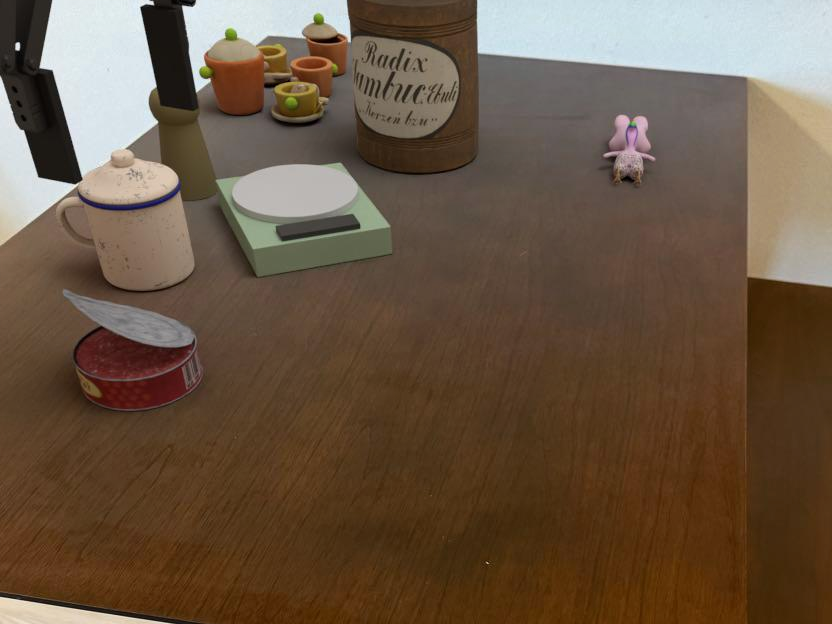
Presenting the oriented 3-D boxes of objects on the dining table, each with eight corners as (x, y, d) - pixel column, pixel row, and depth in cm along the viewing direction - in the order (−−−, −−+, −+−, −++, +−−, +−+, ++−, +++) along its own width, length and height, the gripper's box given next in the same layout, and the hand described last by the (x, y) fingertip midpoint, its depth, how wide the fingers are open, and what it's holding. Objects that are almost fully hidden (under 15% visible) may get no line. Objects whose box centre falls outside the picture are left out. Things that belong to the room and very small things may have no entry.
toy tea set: (318, 131, 122) (310, 50, 116) (199, 122, 123) (184, 40, 116) (364, 65, 141) (359, -8, 135) (260, 57, 142) (250, -16, 135)
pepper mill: (194, 173, 112) (175, 73, 104) (230, 187, 109) (213, 86, 102) (152, 190, 108) (128, 87, 101) (188, 205, 106) (167, 101, 98)
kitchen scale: (220, 206, 106) (213, 172, 103) (343, 188, 110) (340, 155, 108) (257, 277, 95) (251, 241, 92) (392, 254, 99) (390, 218, 97)
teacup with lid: (205, 249, 99) (182, 134, 91) (187, 294, 92) (161, 174, 84) (85, 248, 98) (52, 131, 90) (59, 293, 91) (19, 171, 83)
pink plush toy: (652, 198, 115) (654, 131, 124) (659, 152, 110) (660, 85, 119) (599, 194, 115) (605, 127, 124) (604, 148, 110) (610, 82, 119)
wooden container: (338, 163, 115) (319, -47, 100) (385, 121, 126) (374, -76, 111) (455, 182, 113) (453, -31, 98) (493, 137, 123) (497, -62, 108)
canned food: (111, 402, 87) (88, 288, 84) (222, 392, 87) (202, 277, 84) (56, 422, 76) (26, 291, 73) (183, 410, 76) (158, 279, 73)
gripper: (-92, -245, 41) (53, 227, 56) (215, -276, 59) (264, 89, 73) (-232, -258, 43) (-55, 205, 57) (107, -285, 60) (177, 75, 75)
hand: (124, 140), depth 65 cm, fingers open, 13 cm apart
